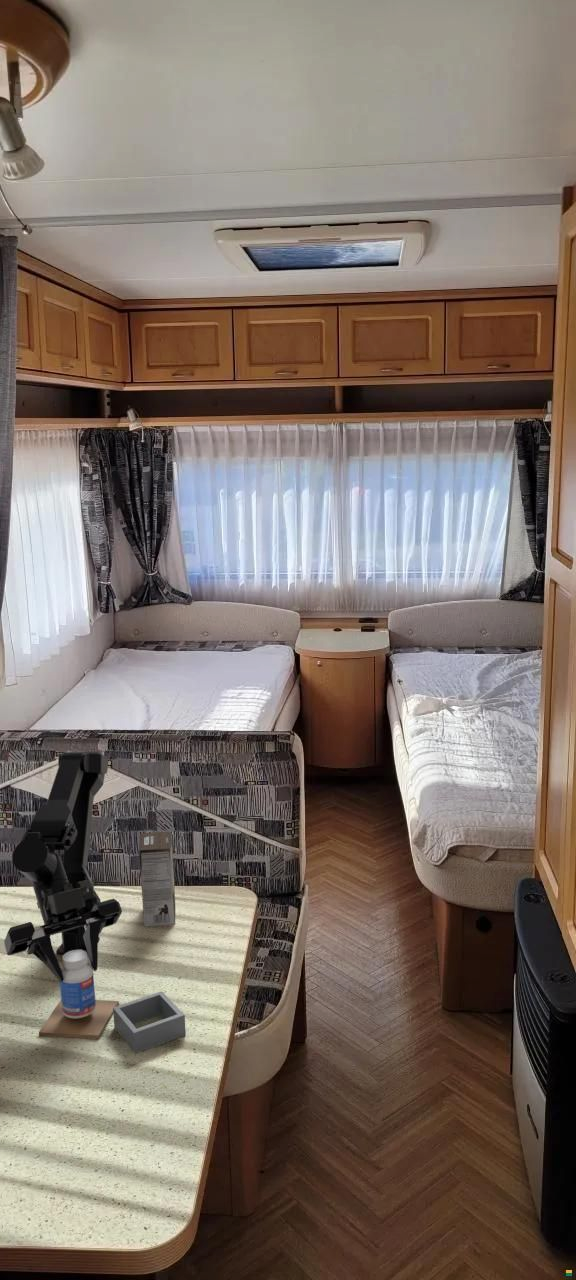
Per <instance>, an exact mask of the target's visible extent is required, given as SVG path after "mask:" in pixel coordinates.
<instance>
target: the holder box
mask: <svg viewBox="0 0 576 1280" xmlns="http://www.w3.org/2000/svg"><path fill="white" fill-rule="evenodd" d="M159 1015H161V1016H162V1018H163V1019H160V1020H158V1021H155V1022H152V1023H149V1024H147V1025H143V1026H141V1027H138V1028H137V1027H136V1026H135V1024H137V1023H140V1022H143V1021H145V1019H146V1020H148V1019H151V1018H154V1017H157V1016H159ZM112 1016H113V1024H114V1025H113V1026H114V1029H115V1030H116V1032H117V1033H118V1034H119V1035H120V1036H121V1037H122V1039H123V1040H124V1041H125V1043H126V1044H127V1045H128V1046H129V1048H130V1049H131V1050H132V1051H133V1052H134V1055H136V1054H138V1053H141V1052H144V1051H146V1050H149V1049H153V1048H155V1047H157V1046H160V1045H162V1044H166V1043H168V1042H171V1041H173V1040H176V1038H177V1039H178V1038H179V1039H180V1038H182V1037H185V1036H186V1035H187V1032H186V1030H187V1029H186V1018H185V1017H186V1016H185V1014H184V1012H183V1011H182V1010H181V1009H180V1008H179V1007H178V1006H177V1005H176V1004H175V1003H174V1002H173V1001H172V1000H171V999H170V997H168V996H167V994H166V993H165V992H163V990H162V991H158V992H155V993H153V994H150V995H145V996H143V997H139V998H137V999H134V1000H131V1001H129V1002H126V1003H125V1002H124V1003H123V1004H119V1005H118V1006H116V1007H113V1015H112ZM184 1035H185V1036H184Z"/></svg>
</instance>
